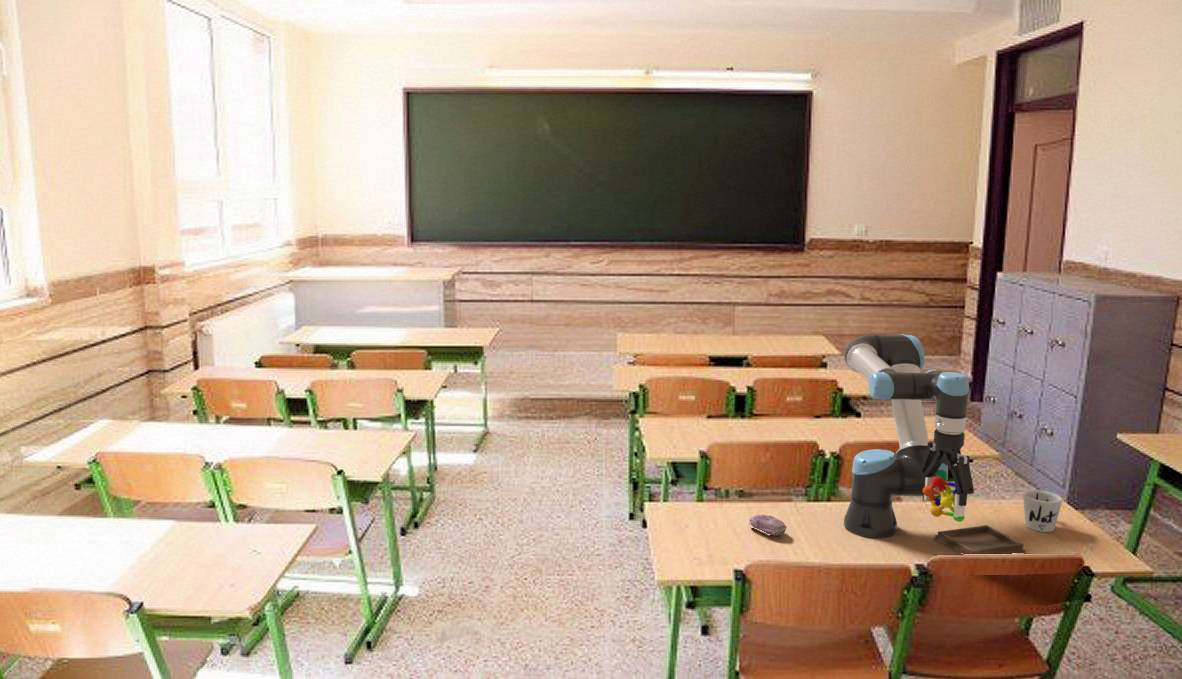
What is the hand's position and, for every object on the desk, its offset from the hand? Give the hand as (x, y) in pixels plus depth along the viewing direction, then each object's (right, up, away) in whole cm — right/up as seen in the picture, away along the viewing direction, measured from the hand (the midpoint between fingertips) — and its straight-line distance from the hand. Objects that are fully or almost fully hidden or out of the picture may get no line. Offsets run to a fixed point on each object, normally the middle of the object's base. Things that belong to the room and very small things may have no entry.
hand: (943, 507), depth 225 cm
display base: (+14, -13, +10) cm, 22 cm away
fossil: (-43, -12, +21) cm, 50 cm away
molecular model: (0, -2, 0) cm, 2 cm away
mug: (+39, -10, +25) cm, 48 cm away
